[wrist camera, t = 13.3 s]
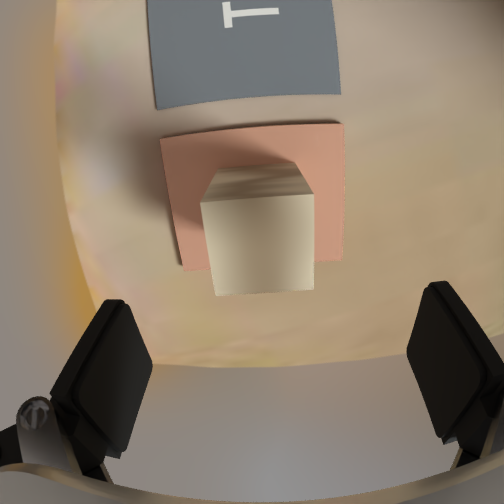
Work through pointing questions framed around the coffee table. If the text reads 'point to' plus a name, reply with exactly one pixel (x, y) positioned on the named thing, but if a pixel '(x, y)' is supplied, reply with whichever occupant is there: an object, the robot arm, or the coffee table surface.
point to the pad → (256, 153)
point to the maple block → (259, 229)
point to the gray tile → (241, 49)
